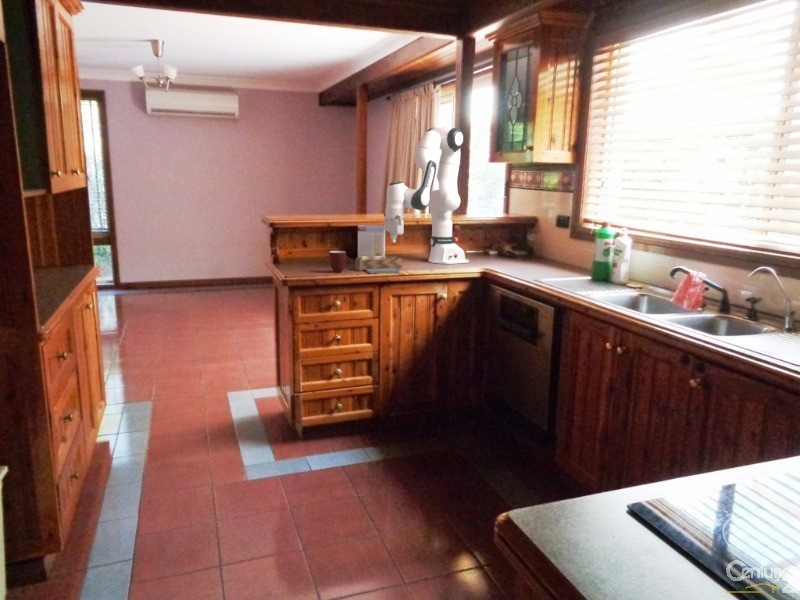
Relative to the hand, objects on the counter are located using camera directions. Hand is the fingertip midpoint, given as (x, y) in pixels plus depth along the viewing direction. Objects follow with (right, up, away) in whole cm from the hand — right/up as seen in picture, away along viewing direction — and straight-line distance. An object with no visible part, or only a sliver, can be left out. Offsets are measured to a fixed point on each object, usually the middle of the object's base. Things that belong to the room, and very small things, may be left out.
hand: (393, 242), depth 311 cm
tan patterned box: (-7, -14, +1) cm, 16 cm away
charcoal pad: (-5, -16, -8) cm, 18 cm away
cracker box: (-12, -10, +17) cm, 23 cm away
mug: (-26, -16, -10) cm, 32 cm away
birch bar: (-11, -10, -1) cm, 15 cm away
